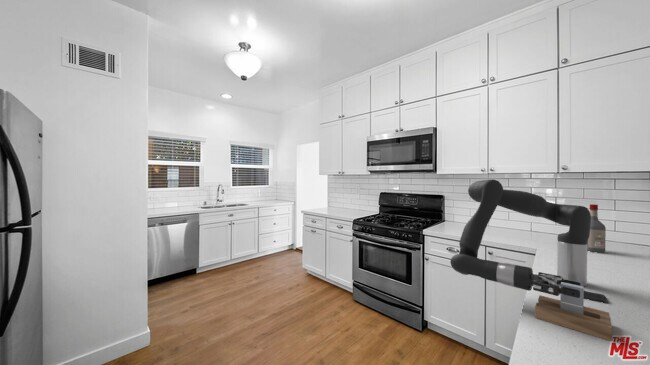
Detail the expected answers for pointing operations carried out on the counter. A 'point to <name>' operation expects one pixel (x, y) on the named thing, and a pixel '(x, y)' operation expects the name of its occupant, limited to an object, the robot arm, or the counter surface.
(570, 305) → the domino
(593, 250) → the liquor
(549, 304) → the rack
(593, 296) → the phone
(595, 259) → the counter surface
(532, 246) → the counter surface
